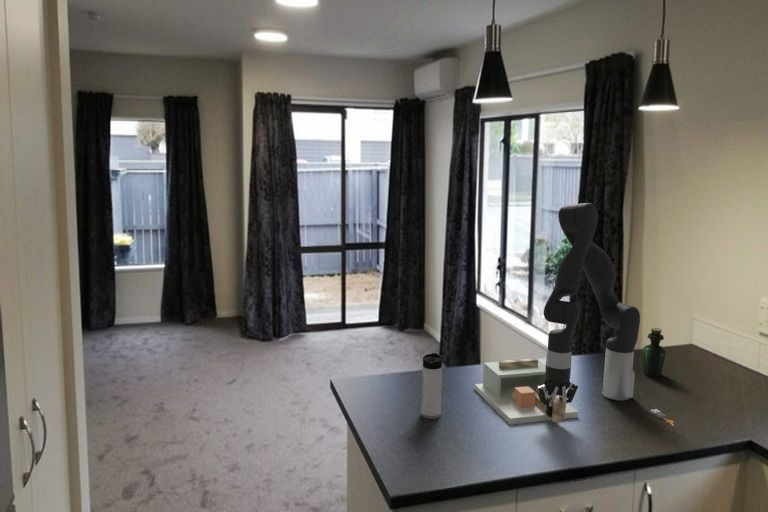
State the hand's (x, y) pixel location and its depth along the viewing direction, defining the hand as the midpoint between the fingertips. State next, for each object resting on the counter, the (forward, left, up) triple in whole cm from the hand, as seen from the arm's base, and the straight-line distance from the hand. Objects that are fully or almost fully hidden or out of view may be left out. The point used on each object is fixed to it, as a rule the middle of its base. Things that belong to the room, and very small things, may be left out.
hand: (555, 415), depth 192 cm
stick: (+1, -25, +7) cm, 26 cm away
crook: (+3, -7, -1) cm, 8 cm away
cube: (+5, -12, -1) cm, 13 cm away
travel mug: (+36, -15, -3) cm, 39 cm away
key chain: (-37, +5, -4) cm, 37 cm away
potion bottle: (-60, -32, -3) cm, 68 cm away
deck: (+2, -17, -3) cm, 18 cm away
